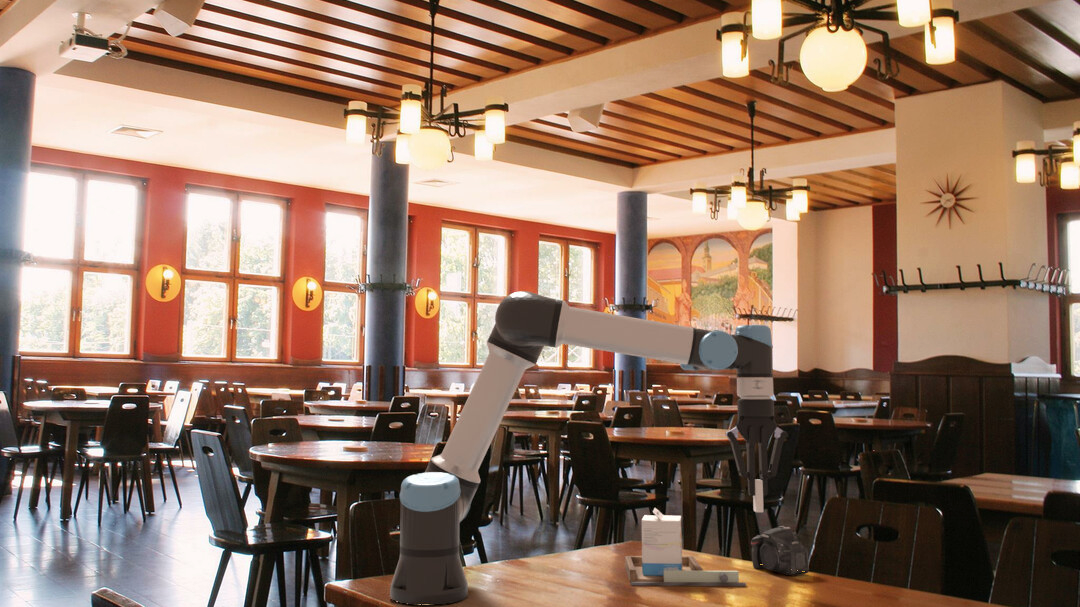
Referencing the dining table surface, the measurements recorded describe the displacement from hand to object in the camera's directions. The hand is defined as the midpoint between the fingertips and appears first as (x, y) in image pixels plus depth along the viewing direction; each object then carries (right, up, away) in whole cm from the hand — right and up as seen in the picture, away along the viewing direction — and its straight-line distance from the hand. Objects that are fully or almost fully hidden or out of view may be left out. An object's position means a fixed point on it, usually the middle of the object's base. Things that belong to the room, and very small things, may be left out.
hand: (758, 511), depth 186 cm
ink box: (-19, -15, +7) cm, 25 cm away
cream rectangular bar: (-12, -15, -2) cm, 19 cm away
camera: (+7, -16, +11) cm, 21 cm away
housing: (-15, -16, +6) cm, 22 cm away
